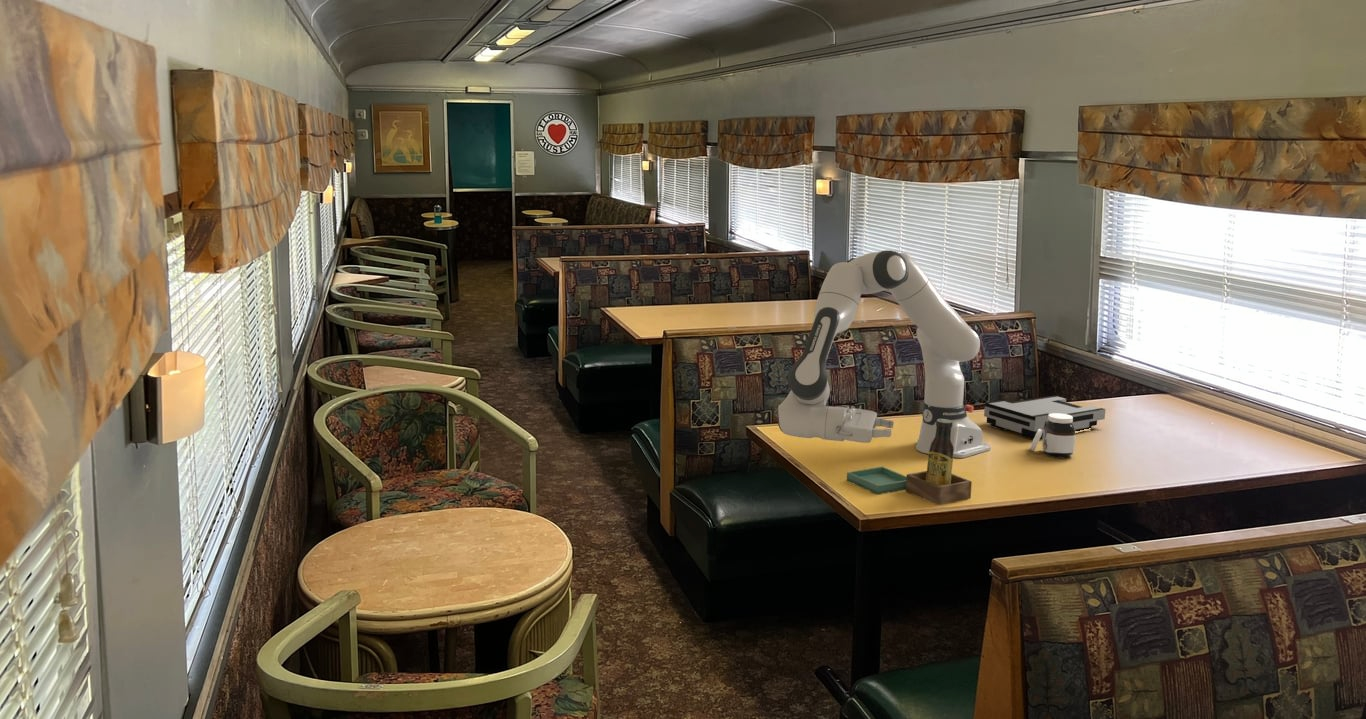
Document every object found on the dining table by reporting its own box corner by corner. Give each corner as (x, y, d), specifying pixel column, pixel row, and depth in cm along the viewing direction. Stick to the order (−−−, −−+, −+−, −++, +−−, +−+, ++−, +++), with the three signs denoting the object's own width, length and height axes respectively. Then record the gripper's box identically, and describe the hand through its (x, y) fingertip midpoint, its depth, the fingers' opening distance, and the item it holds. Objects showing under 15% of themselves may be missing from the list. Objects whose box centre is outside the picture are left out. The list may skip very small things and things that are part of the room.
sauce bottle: (920, 494, 277) (925, 420, 273) (931, 489, 282) (936, 415, 278) (944, 500, 273) (949, 424, 269) (954, 494, 278) (959, 420, 274)
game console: (1103, 430, 344) (1105, 405, 342) (1033, 443, 328) (1035, 417, 326) (1052, 415, 361) (1054, 392, 360) (983, 427, 346) (985, 402, 344)
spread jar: (1077, 459, 311) (1080, 420, 308) (1039, 459, 310) (1042, 420, 307) (1060, 447, 322) (1063, 410, 320) (1023, 447, 321) (1026, 410, 319)
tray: (882, 474, 293) (882, 466, 293) (913, 487, 282) (914, 479, 282) (846, 480, 288) (847, 472, 287) (877, 494, 277) (878, 486, 276)
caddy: (938, 484, 285) (939, 468, 284) (970, 498, 275) (971, 481, 274) (905, 490, 280) (906, 474, 279) (937, 504, 269) (938, 487, 269)
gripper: (834, 421, 270) (890, 426, 266) (843, 403, 289) (895, 408, 286) (833, 445, 271) (888, 451, 268) (841, 426, 290) (893, 430, 287)
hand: (892, 428), depth 277 cm, fingers open, 8 cm apart
